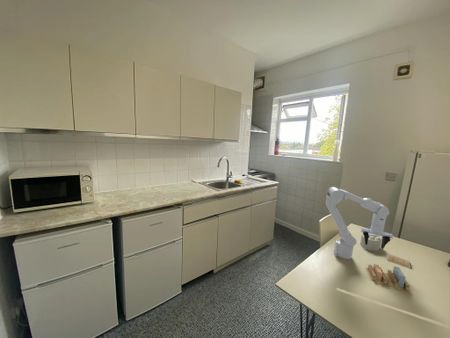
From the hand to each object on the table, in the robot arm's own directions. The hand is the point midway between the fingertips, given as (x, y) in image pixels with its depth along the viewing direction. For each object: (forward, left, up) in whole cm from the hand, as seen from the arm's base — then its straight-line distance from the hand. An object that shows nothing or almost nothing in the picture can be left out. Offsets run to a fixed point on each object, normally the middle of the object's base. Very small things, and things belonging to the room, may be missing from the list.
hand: (373, 246), depth 110 cm
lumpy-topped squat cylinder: (+4, +21, -10) cm, 24 cm away
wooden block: (-1, -16, -9) cm, 18 cm away
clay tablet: (+15, +8, -11) cm, 20 cm away
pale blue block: (+7, -16, -9) cm, 20 cm away
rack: (+3, -16, -10) cm, 19 cm away
